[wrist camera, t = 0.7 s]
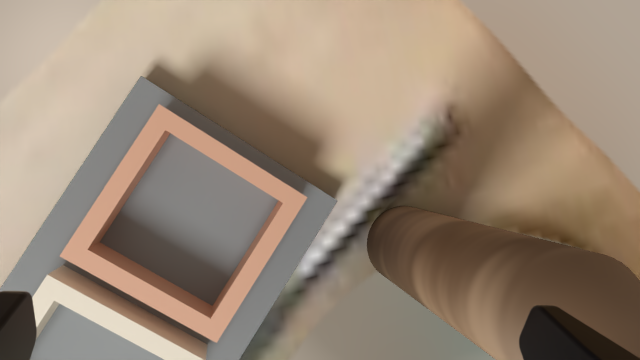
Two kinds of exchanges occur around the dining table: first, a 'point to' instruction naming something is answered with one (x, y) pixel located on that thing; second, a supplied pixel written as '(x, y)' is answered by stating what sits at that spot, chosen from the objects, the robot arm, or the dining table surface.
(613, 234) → the dining table surface
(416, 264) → the walnut pin
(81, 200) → the board
